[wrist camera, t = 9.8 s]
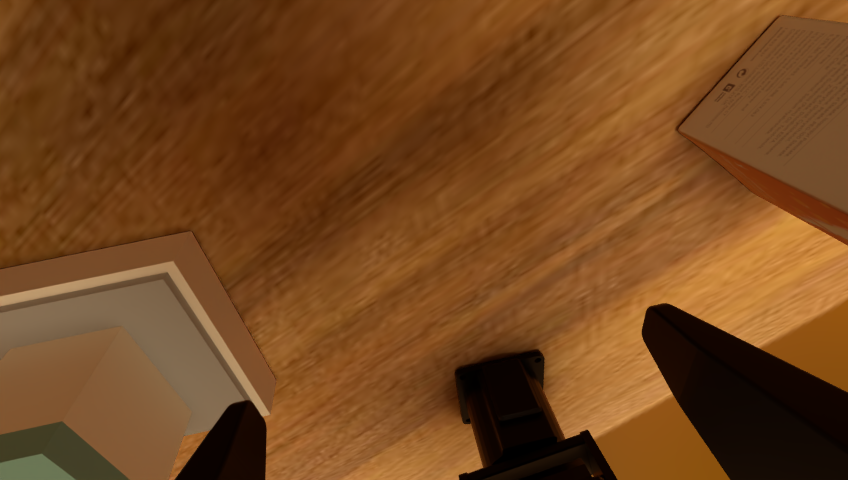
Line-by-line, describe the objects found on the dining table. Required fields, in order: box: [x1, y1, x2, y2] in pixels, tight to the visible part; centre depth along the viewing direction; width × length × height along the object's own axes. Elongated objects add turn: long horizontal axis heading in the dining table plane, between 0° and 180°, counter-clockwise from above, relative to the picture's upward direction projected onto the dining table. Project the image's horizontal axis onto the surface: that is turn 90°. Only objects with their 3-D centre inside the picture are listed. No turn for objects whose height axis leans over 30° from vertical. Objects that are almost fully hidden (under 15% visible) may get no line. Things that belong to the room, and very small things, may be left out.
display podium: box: [0, 231, 276, 436], centre depth 22 cm, size 12×12×3 cm
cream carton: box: [0, 326, 192, 480], centre depth 18 cm, size 5×7×6 cm
